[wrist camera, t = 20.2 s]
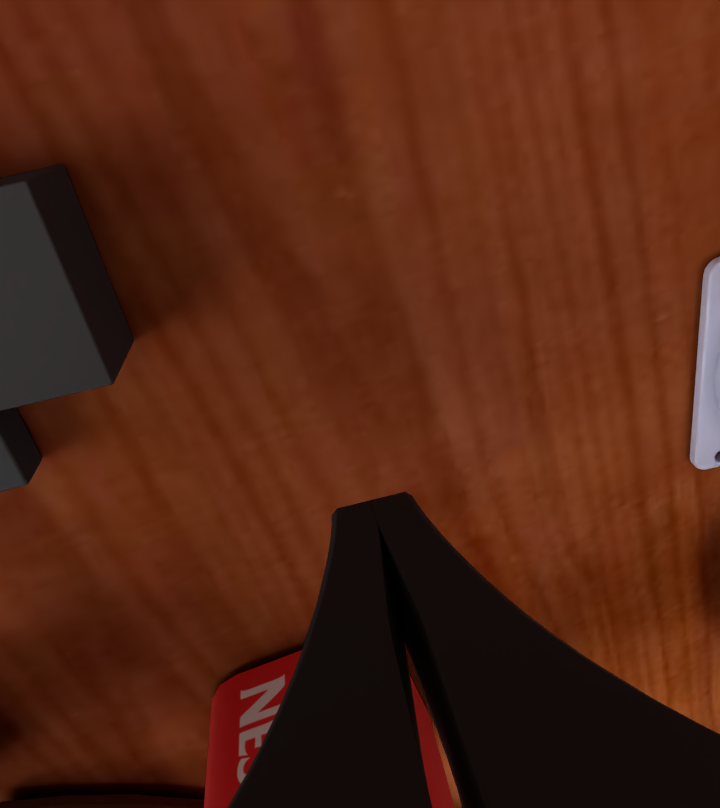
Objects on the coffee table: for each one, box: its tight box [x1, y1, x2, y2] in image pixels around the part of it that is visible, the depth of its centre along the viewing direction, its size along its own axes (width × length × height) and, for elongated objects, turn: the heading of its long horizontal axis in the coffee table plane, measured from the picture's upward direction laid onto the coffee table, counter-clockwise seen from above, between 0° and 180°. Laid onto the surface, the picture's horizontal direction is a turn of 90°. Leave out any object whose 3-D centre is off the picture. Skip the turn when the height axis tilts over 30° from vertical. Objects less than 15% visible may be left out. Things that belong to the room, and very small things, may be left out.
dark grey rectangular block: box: [0, 164, 133, 411], centre depth 16 cm, size 4×5×3 cm
